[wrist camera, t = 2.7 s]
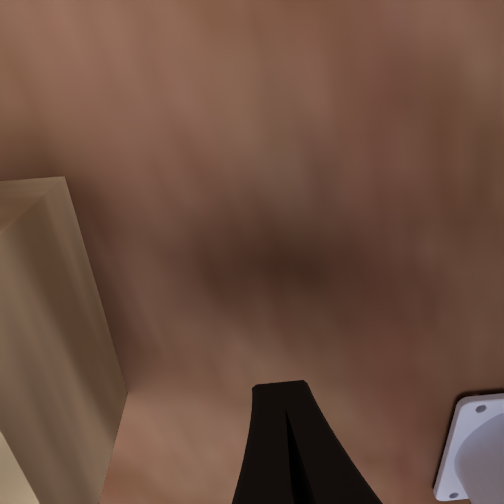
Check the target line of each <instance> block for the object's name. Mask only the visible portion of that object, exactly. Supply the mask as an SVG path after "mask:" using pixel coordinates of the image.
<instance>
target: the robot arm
mask: <svg viewBox="0 0 504 504" xmlns="http://www.w3.org/2000/svg"><path fill="white" fill-rule="evenodd" d="M433 493H434V495H435V497H436V499H437V500H439V501H450V500H459V499H470V501H471V503H472V504H504V393H501V394H490V395H480V396H470V397H464V398H462V399H461V400H460V401H458V403H457V405H456V409H455V413H454V416H453V420H452V424H451V428H450V431H449V435H448V439H447V442H446V446H445V450H444V454H443V457H442V461H441V465H440V468H439V472H438V476H437V480H436V483H435V487H434V491H433ZM232 504H382V502H381V501H380V500H379V498H378V497H377V496H376V494H375V493H374V492H373V490H372V489H371V487H370V486H369V485H368V483H367V482H366V481H365V479H364V478H363V476H362V475H361V474H360V472H359V471H358V469H357V468H356V466H355V465H354V463H353V462H352V461H351V459H350V457H349V456H348V454H347V453H346V451H345V450H344V448H343V447H342V445H341V444H340V442H339V440H338V439H337V437H336V436H335V434H334V433H333V431H332V429H331V428H330V426H329V424H328V422H327V421H326V419H325V417H324V415H323V414H322V412H321V410H320V408H319V406H318V405H317V403H316V401H315V399H314V397H313V395H312V393H311V390H310V388H309V386H308V383H307V382H305V381H304V380H299V381H289V382H278V383H268V384H258V385H255V386H254V387H253V388H252V413H251V421H250V428H249V434H248V439H247V444H246V449H245V454H244V459H243V463H242V468H241V472H240V475H239V479H238V483H237V487H236V490H235V494H234V498H233V501H232Z"/></svg>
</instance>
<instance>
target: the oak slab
mask: <svg viewBox="0 0 504 504" xmlns="http://www.w3.org/2000/svg"><path fill="white" fill-rule="evenodd" d="M127 394H128V393H127V389H126V386H125V382H124V379H123V375H122V372H121V369H120V365H119V362H118V358H117V355H116V351H115V348H114V345H113V341H112V338H111V334H110V331H109V327H108V324H107V320H106V317H105V314H104V310H103V307H102V303H101V300H100V296H99V293H98V290H97V286H96V283H95V279H94V276H93V272H92V269H91V265H90V262H89V259H88V255H87V252H86V248H85V245H84V241H83V238H82V235H81V231H80V228H79V224H78V221H77V217H76V214H75V210H74V207H73V204H72V200H71V197H70V193H69V190H68V186H67V183H66V180H65V176H62V177H48V178H35V179H22V180H9V181H0V504H99V502H100V498H101V494H102V490H103V486H104V482H105V479H106V475H107V471H108V467H109V463H110V459H111V455H112V452H113V448H114V444H115V440H116V436H117V432H118V429H119V425H120V421H121V417H122V413H123V409H124V406H125V402H126V398H127Z"/></svg>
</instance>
